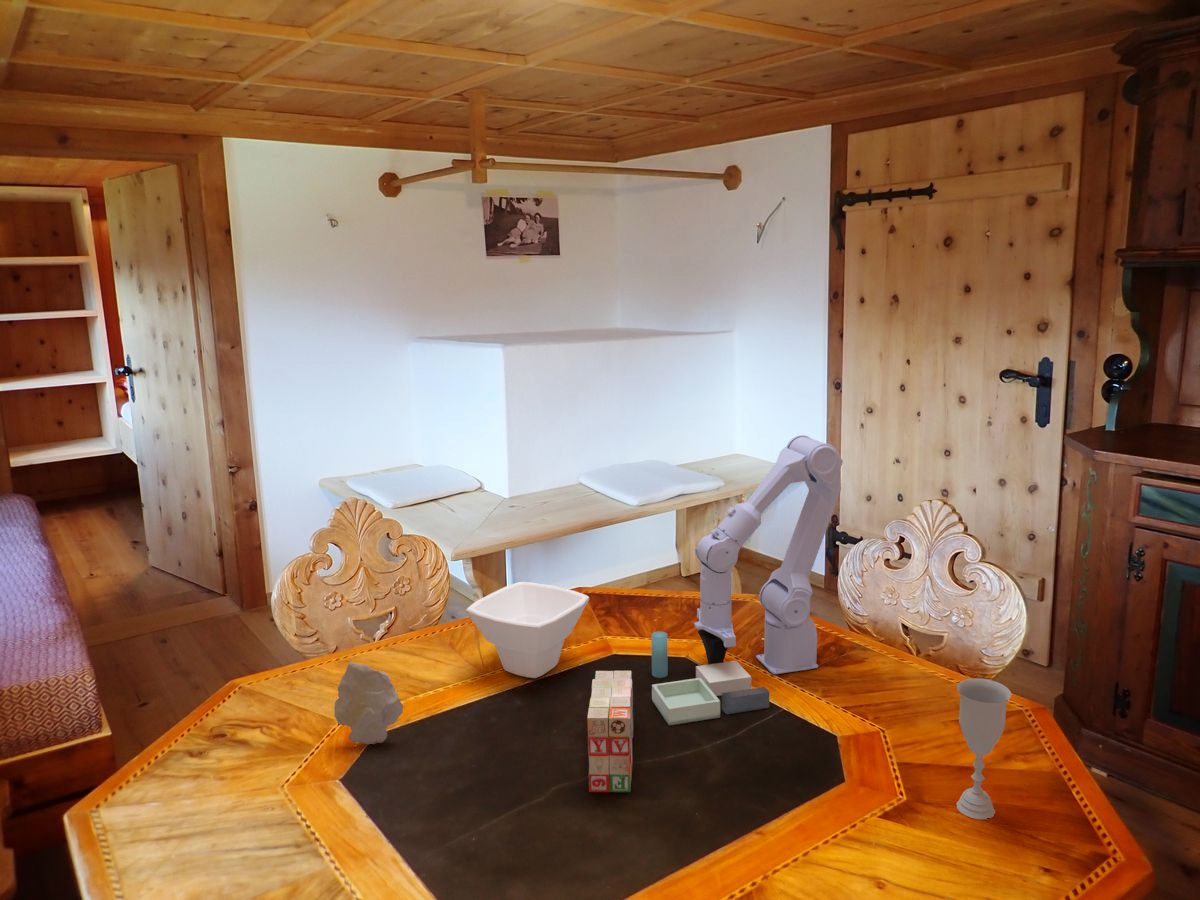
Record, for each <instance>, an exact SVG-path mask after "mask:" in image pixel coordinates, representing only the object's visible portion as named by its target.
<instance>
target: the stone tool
mask: <svg viewBox="0 0 1200 900" xmlns="http://www.w3.org/2000/svg"><path fill="white" fill-rule="evenodd" d="M336 689H337V693H338V694H337V696H338V698H337V699H336V700H335V702H334V706H333V707H334V708H333V709H334V716H333V717H335V720H336V722H337V724H339V725H340V726H347V727H349V728H350V729H351V732H350V733H349V735H348V739H349V741H351V743H358V744H365V745H368V746H369V744H373V745H375V744H377V743H378V744H382V743H384V742H385V741H386V739H387V737H388V732H387V729H388V728H389V726H391V725H394V724H395V723H396V722H398V719H399V718H400V717H401V715H402V714H403V712H404V711H403V710H404V704H402V702H401V699H400V697H399V694H398V692H397V691H396V688H395V686H394V684H393V683H392V680H391V678H390V676H389V675H388V674H387V672H385V671H380V670H375V669H373V668H371V667H369V666H368V665H367V664H365V663H364V664H358V663H355V662H353V661H349V663H348V664H347V667H346V670H345V672H344V674H343V675H342V677H341V679H340V682H339V685H338V686H337V688H336Z"/></svg>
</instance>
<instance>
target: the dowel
mask: <svg viewBox="0 0 1200 900" xmlns="http://www.w3.org/2000/svg"><path fill="white" fill-rule="evenodd" d="M650 640H651V676H652V677H654V678H656V679H663V678H665V677H668V674H669V673H668V671H669V670H668V663H669V661H668V650H669V649H668V633H667V632H665V631H661V630H660V631H658V630H657V631H654V632H652V633H651V639H650Z"/></svg>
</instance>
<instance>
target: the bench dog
mask: <svg viewBox="0 0 1200 900" xmlns="http://www.w3.org/2000/svg"><path fill="white" fill-rule="evenodd" d="M770 693H771V692H770V691H769V689H768V688H767V687H766V686H761V687H754V688H751V689H746V690H740V691H733V692H726V693H722V695H721V710H722V711H723V712H724V713H725V715H732V714H738V713H745V712H750V711H758V710H764V709H769V708H770Z"/></svg>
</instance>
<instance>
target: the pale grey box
mask: <svg viewBox="0 0 1200 900" xmlns="http://www.w3.org/2000/svg"><path fill="white" fill-rule="evenodd" d="M695 678H701V679H702V680H703V681H704V682H705V684H706V685H707V686H708V687H709V688H710V690H711V691H712V692H713V693H714V694H715V696H716V697H718V696H719V697H720V696H722V693H726V692H733V691H740V690H746V689H752V676H751V675H750V674H749V673H748V672H747V671H746V670H745V669H744V667H743V666H742V665H741V664H740V663H739V662H738V661H737V660H732V661H725V662H723V663H716V664H703V665H702V664H701V665H697V666H696V665H695Z"/></svg>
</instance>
